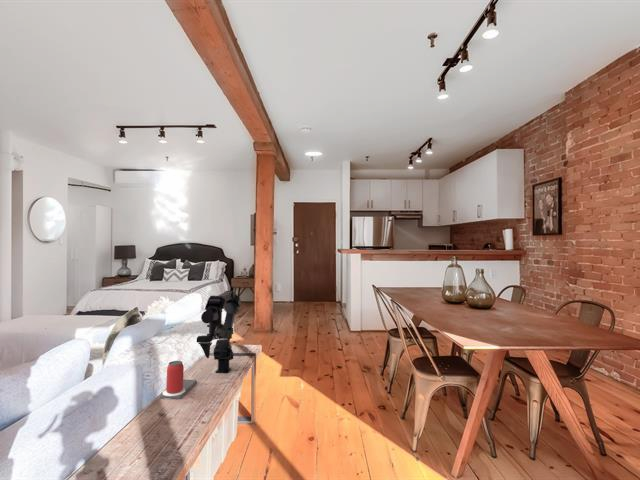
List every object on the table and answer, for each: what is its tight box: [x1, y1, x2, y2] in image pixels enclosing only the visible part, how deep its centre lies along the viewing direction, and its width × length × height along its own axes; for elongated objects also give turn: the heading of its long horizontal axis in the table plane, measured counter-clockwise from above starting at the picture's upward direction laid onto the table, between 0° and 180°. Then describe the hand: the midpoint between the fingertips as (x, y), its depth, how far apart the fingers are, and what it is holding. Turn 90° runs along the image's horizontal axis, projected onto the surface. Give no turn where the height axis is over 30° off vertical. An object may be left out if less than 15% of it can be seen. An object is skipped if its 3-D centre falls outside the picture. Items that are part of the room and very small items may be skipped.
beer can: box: [165, 360, 185, 394], centre depth 145 cm, size 7×7×12 cm
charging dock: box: [159, 378, 198, 400], centre depth 150 cm, size 18×9×2 cm, turn 179°
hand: (214, 356), depth 159 cm, fingers open, 9 cm apart
